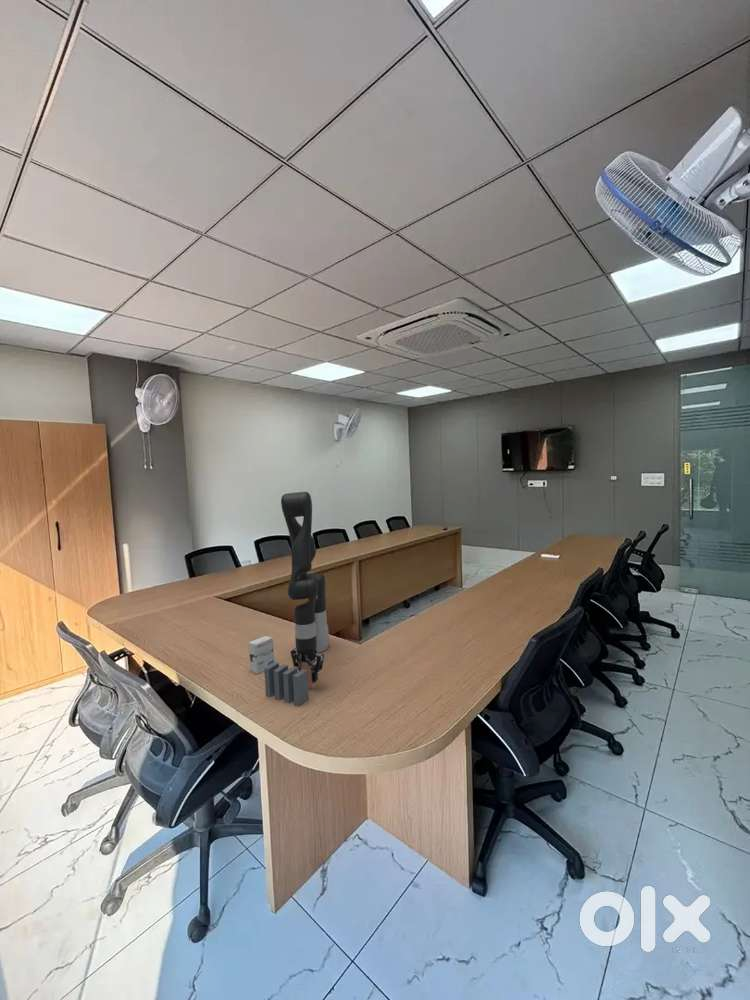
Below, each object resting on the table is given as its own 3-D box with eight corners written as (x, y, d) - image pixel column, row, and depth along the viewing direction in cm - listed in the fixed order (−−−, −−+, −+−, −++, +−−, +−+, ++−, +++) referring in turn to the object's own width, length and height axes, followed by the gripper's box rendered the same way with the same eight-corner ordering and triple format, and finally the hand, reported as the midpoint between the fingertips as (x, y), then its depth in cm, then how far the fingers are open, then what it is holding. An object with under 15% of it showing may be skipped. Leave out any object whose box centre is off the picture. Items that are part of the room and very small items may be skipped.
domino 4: (294, 704, 136) (292, 675, 135) (304, 697, 140) (302, 669, 140) (299, 706, 135) (297, 677, 134) (308, 698, 139) (307, 670, 139)
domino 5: (305, 683, 150) (303, 657, 149) (316, 686, 147) (314, 659, 146) (301, 686, 148) (300, 659, 147) (312, 689, 145) (311, 662, 145)
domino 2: (275, 698, 140) (273, 670, 140) (285, 691, 145) (283, 664, 144) (279, 700, 139) (277, 671, 139) (289, 693, 144) (287, 665, 143)
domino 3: (284, 701, 138) (282, 673, 137) (294, 694, 142) (292, 666, 142) (289, 703, 137) (287, 674, 136) (298, 695, 141) (297, 667, 141)
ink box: (267, 662, 168) (265, 634, 167) (275, 665, 165) (273, 637, 164) (249, 671, 161) (247, 642, 160) (256, 674, 158) (254, 645, 157)
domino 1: (266, 695, 142) (264, 668, 142) (276, 688, 147) (274, 662, 146) (270, 697, 141) (268, 669, 141) (280, 690, 146) (278, 663, 145)
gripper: (328, 633, 146) (330, 679, 147) (297, 627, 153) (299, 671, 154) (315, 641, 139) (317, 689, 140) (283, 634, 147) (286, 680, 148)
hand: (308, 679), depth 147 cm, fingers closed on domino 5, 5 cm apart
